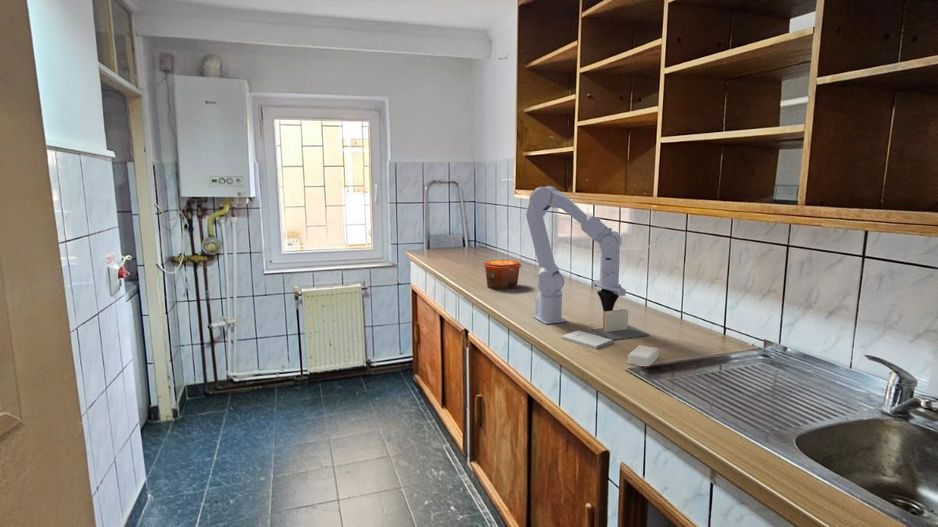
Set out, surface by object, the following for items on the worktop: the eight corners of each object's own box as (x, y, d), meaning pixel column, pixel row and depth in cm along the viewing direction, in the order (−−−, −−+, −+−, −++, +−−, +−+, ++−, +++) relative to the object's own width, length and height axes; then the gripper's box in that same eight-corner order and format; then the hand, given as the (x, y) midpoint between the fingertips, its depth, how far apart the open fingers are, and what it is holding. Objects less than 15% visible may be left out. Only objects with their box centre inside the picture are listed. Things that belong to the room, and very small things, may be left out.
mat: (591, 330, 161) (591, 329, 161) (628, 326, 165) (628, 324, 165) (611, 340, 151) (611, 339, 151) (649, 335, 155) (649, 334, 155)
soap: (648, 369, 130) (649, 357, 129) (627, 364, 133) (627, 353, 133) (659, 358, 137) (659, 348, 137) (638, 354, 140) (638, 344, 140)
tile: (602, 330, 159) (603, 311, 158) (624, 327, 162) (625, 309, 161) (605, 331, 158) (606, 312, 157) (627, 329, 161) (628, 310, 160)
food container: (502, 281, 234) (503, 257, 232) (528, 287, 222) (528, 262, 220) (476, 286, 224) (476, 261, 222) (501, 292, 212) (501, 266, 210)
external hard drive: (596, 351, 144) (561, 340, 153) (613, 344, 149) (578, 334, 159) (596, 345, 144) (561, 335, 153) (613, 339, 149) (578, 329, 158)
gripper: (635, 274, 155) (632, 318, 158) (606, 266, 169) (605, 306, 171) (615, 276, 153) (613, 320, 156) (588, 267, 167) (586, 308, 169)
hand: (607, 313), depth 163 cm, fingers closed
